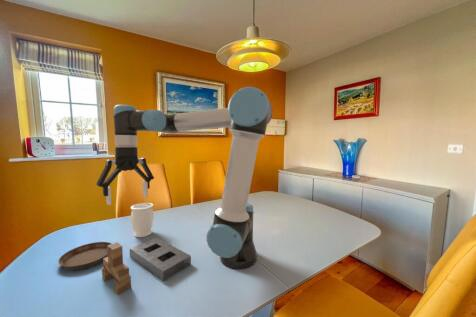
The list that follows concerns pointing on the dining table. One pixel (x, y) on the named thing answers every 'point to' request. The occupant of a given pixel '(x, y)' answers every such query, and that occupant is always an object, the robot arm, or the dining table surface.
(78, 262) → the plant saucer
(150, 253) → the grey slotted base block
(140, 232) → the jar
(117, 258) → the brown wooden branched block
